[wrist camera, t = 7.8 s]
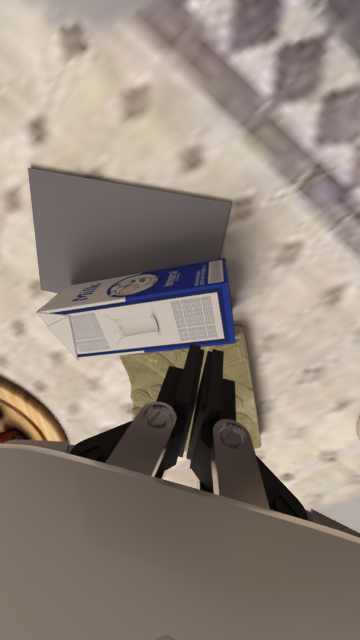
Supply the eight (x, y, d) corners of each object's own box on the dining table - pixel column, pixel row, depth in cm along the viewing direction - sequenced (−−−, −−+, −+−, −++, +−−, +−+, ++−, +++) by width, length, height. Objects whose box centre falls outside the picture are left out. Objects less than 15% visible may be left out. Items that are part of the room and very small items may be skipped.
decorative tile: (243, 322, 32) (245, 335, 29) (260, 433, 40) (263, 454, 37) (111, 340, 36) (101, 354, 33) (150, 438, 44) (144, 456, 41)
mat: (231, 203, 26) (231, 203, 26) (204, 321, 32) (204, 323, 32) (30, 168, 27) (28, 167, 27) (42, 288, 34) (40, 289, 33)
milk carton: (228, 283, 22) (33, 313, 26) (236, 344, 25) (62, 362, 29) (225, 257, 28) (67, 285, 32) (232, 310, 31) (88, 328, 35)
